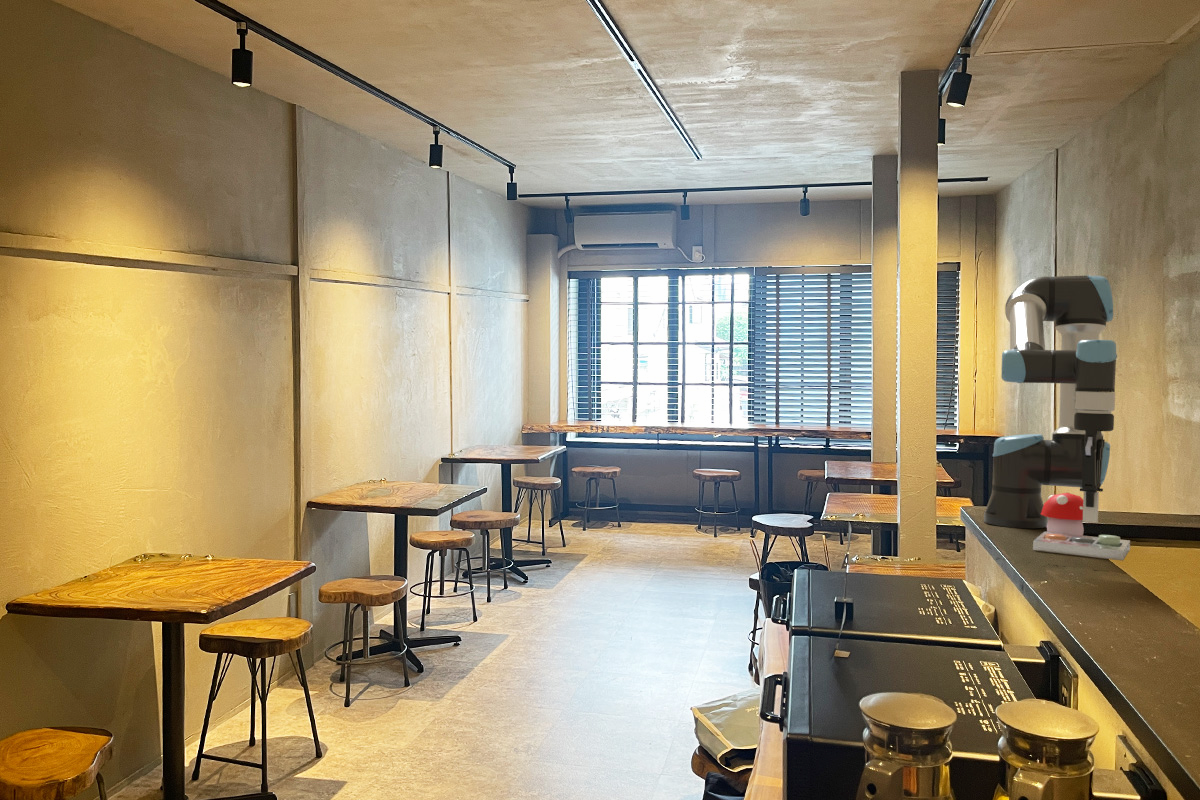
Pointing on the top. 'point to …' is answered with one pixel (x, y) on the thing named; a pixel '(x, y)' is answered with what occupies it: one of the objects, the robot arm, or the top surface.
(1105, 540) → the button sage
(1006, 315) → the robot arm
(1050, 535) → the button terracotta
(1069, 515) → the mushroom
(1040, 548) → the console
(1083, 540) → the button charcoal
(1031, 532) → the top surface
